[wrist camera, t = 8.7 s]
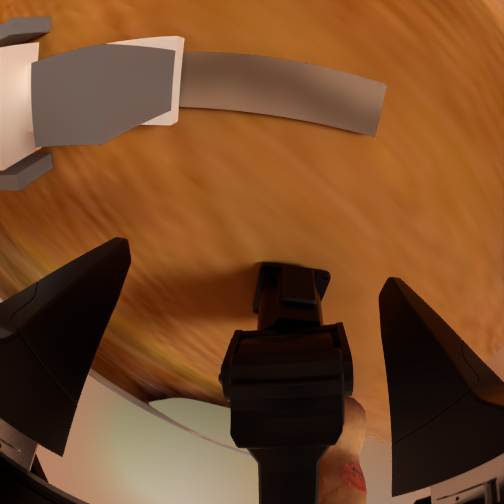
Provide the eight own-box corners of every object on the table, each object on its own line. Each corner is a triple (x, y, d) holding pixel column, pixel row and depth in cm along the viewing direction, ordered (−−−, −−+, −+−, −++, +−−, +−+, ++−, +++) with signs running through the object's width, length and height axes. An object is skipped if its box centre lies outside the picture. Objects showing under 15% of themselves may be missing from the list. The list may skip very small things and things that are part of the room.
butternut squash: (375, 389, 40) (387, 526, 20) (312, 413, 46) (311, 533, 26) (329, 363, 35) (335, 544, 15) (260, 392, 41) (246, 539, 21)
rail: (370, 134, 18) (374, 137, 17) (152, 104, 18) (146, 106, 17) (381, 83, 15) (387, 84, 15) (155, 53, 15) (149, 53, 14)
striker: (176, 148, 18) (109, 212, 11) (31, 148, 18) (-43, 198, 11) (187, 12, 12) (113, -26, 5) (28, 46, 12) (-58, 66, 5)
